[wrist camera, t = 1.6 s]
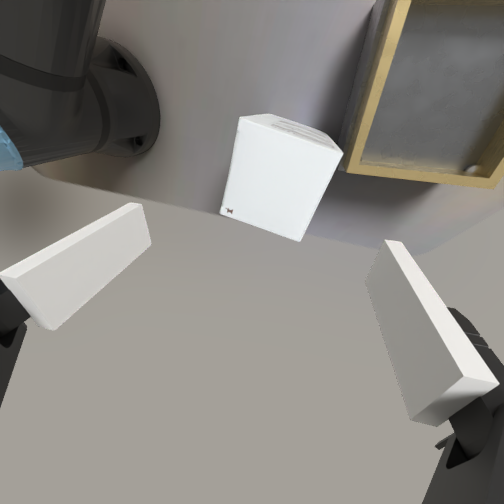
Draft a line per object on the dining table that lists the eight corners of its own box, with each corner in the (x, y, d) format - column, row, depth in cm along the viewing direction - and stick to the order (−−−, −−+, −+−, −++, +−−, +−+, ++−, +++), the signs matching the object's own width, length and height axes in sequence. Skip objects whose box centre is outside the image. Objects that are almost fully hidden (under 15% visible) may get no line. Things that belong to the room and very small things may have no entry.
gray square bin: (333, 160, 33) (340, 176, 25) (373, 5, 24) (402, -41, 16) (450, 173, 30) (495, 194, 23) (544, 6, 21) (666, -45, 14)
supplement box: (302, 194, 36) (300, 247, 23) (250, 176, 37) (216, 217, 23) (329, 131, 31) (347, 151, 17) (268, 110, 31) (237, 113, 17)
